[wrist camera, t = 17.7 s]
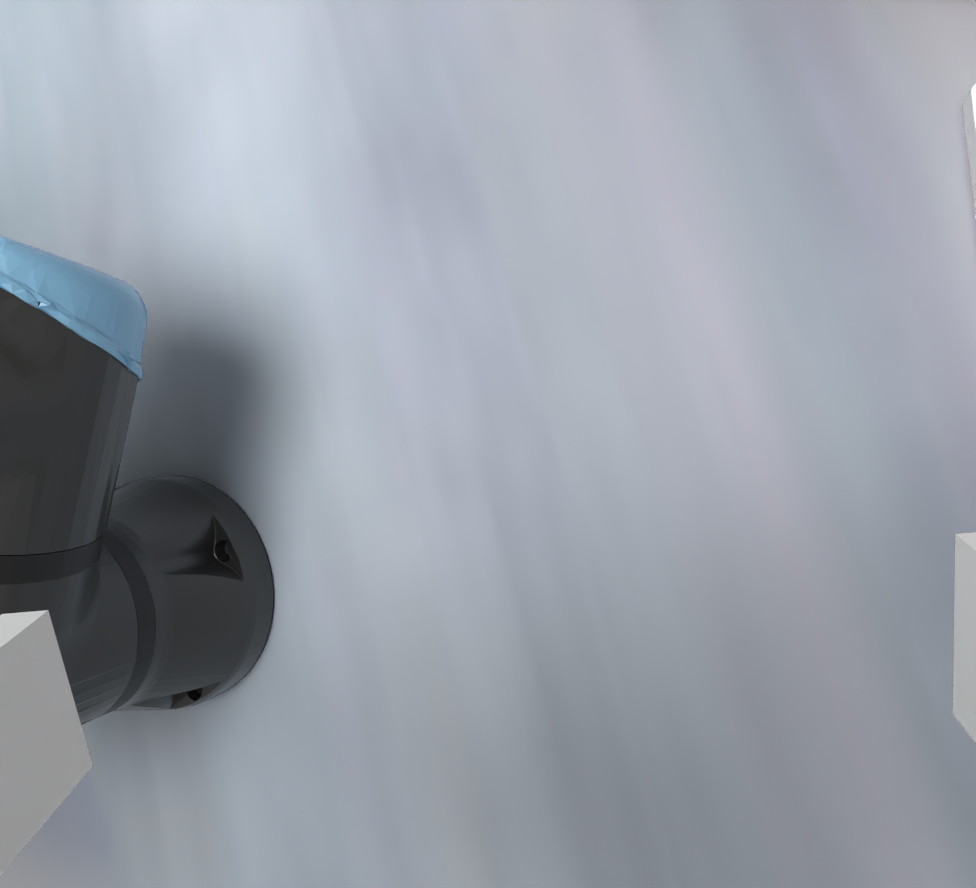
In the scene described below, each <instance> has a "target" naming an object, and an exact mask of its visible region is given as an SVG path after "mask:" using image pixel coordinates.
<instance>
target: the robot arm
mask: <svg viewBox="0 0 976 888" xmlns="http://www.w3.org/2000/svg"><path fill="white" fill-rule="evenodd" d="M146 324H147V311H146V307H145V305H144V303H143V301H142V299H141V297H140V295H139V293H138V292H137V291H136V290H135V289H134V288H133V287H131V286H130V285H129V284H128V283H126V282H124V281H122V280H120V279H118V278H116V277H113V276H111V275H108V274H106V273H103V272H100V271H98V270H95V269H92V268H90V267H87V266H84V265H82V264H79V263H76V262H73V261H71V260H68V259H65V258H62V257H59V256H57V255H54V254H51V253H48V252H45V251H42V250H40V249H37V248H34V247H31V246H28V245H25V244H22V243H19V242H16V241H13V240H10V239H7V238H4V237H0V876H1V875H2V873H3V872H4V871H5V870H6V869H7V867H8V866H9V865H10V864H11V863H12V861H13V860H14V859H15V858H16V857H17V856H18V854H19V853H20V852H21V851H22V850H23V849H24V847H25V846H26V845H27V844H28V843H29V841H30V840H31V839H32V838H33V837H34V835H35V834H36V833H37V832H38V831H39V829H40V828H41V827H42V826H43V825H44V824H45V822H46V821H47V820H48V819H49V817H51V815H52V814H53V813H54V812H55V810H56V809H57V808H58V807H59V806H60V805H61V803H62V802H63V801H64V800H65V799H66V797H67V796H68V795H69V794H70V793H71V792H72V790H73V789H74V788H75V787H76V786H77V784H78V783H79V782H80V781H81V780H82V779H83V777H84V776H85V775H86V774H87V773H88V771H89V770H90V769H91V768H92V767H93V765H92V761H91V758H90V754H89V751H88V747H87V744H86V740H85V737H84V733H83V730H82V726H81V725H83V724H85V723H87V722H89V721H91V720H93V719H95V718H97V717H100V716H102V715H104V714H107V713H109V712H111V711H117V710H162V709H179V708H184V707H189V706H192V705H196V704H199V703H201V702H203V701H205V700H208V699H210V698H212V697H214V696H216V695H218V694H220V693H222V692H224V691H226V690H228V689H229V688H231V687H232V686H234V685H235V684H236V683H238V682H239V681H240V680H241V679H242V678H243V677H244V676H245V675H246V674H247V673H248V672H249V671H250V669H251V668H252V667H253V665H254V664H255V662H256V661H257V659H258V658H259V656H260V654H261V652H262V650H263V647H264V645H265V643H266V640H267V637H268V633H269V630H270V625H271V620H272V613H273V583H272V576H271V571H270V566H269V562H268V558H267V555H266V552H265V549H264V547H263V544H262V542H261V540H260V538H259V536H258V534H257V532H256V530H255V528H254V526H253V525H252V523H251V522H250V520H249V519H248V518H247V516H246V515H245V514H244V512H243V511H242V510H241V509H240V508H239V507H238V506H237V505H236V504H235V503H234V502H233V501H232V500H231V499H230V498H229V497H228V496H227V495H225V494H224V493H223V492H221V491H220V490H218V489H217V488H215V487H213V486H211V485H209V484H207V483H205V482H203V481H200V480H197V479H193V478H189V477H183V476H165V477H156V478H147V479H140V480H136V481H133V482H130V483H127V484H124V485H122V486H119V487H117V488H116V489H115V486H116V481H117V476H118V471H119V467H120V462H121V457H122V452H123V448H124V443H125V438H126V433H127V429H128V424H129V419H130V414H131V410H132V405H133V400H134V396H135V391H136V386H137V382H139V381H141V380H142V377H143V373H142V367H141V366H140V362H141V355H142V349H143V343H144V336H145V330H146ZM953 715H954V716H955V717H956V719H957V720H958V721H959V722H960V724H961V725H962V726H963V728H964V729H965V730H966V732H967V733H968V734H969V735H970V737H971V738H972V739H973V741H974V742H975V743H976V532H972V533H960V534H955V603H954V674H953Z"/></svg>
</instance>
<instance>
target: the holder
mask: <svg viewBox="0 0 976 888" xmlns="http://www.w3.org/2000/svg"><path fill="white" fill-rule="evenodd" d="M963 115H964V123H965V132H966V140H967V149H968V157H969V166H970V174H971V183H972V191H973V200H974V208H975V217H976V84H975V85H974V86H973V87H972V89H971V91H970V93H969V95H968V97H967V99H966V101H965V103H964V105H963Z"/></svg>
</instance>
